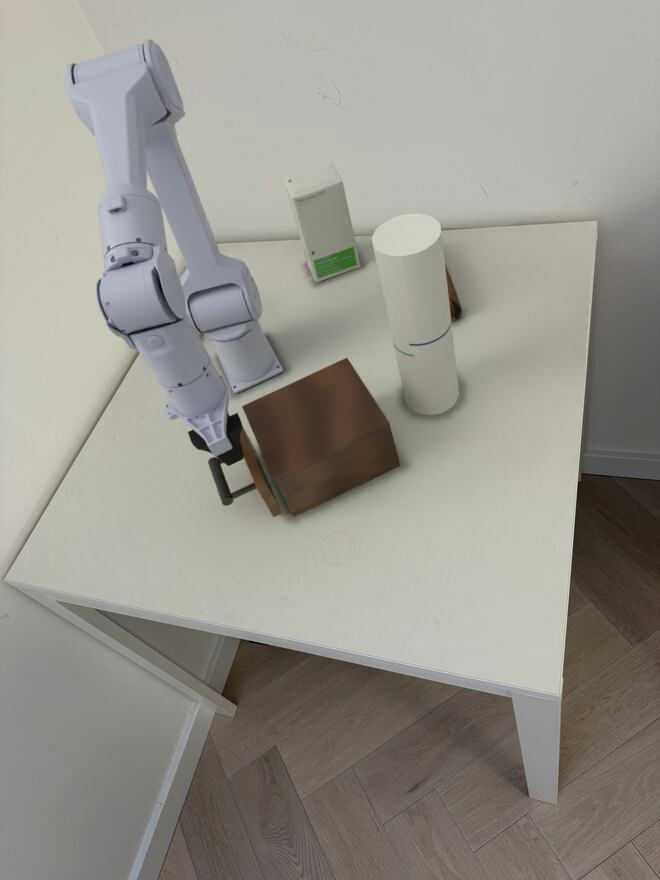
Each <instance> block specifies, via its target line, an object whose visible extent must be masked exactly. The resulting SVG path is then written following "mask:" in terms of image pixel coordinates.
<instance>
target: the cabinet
mask: <svg viewBox="0 0 660 880" xmlns="http://www.w3.org/2000/svg"><path fill="white" fill-rule="evenodd" d="M241 408H242V410H243V413H244V415H245V416H246V420H247V422H248V424H249V426H250V429H251V430H252V433H253V435H254V438H255V440H256V443H257V445H258V447H259V450H260V451H261V454H262V456H263V458H264V461H265V463H266V466H267V468H268V471H269V472H270V475H271V477H272V480H273V482H275V485H276V487H277V488H278V491H279V492H280V495H281V497H282V498H283V499H284V502H285V503H286V506H287V507H288V509H289V511H290V513H291V515H292V517H293V518H295V517H297V516H299V515H301V514H303V513H305V512H307V511H309V510H311V509H314V508H316V507H318V506H320V505H322V504H324V503H326V502H328V501H330V500H332V499H334V498H337V497H339V496H341V495H343V494H345V493H347V492H349V491H351V490H353V489H355V488H357V487H359V486H361V485H363V484H366V483H368V482H369V481H372V480H374V479H376V478H378V477H381V475H382V476H383V475H385V474H387V473H388V472H391V471H393V470H394V469H397V468H399V467H401V463H400V459H399V455H398V451H397V447H396V442H395V439H394V434H393V431H392V426H391V423H390V421H389V420H388V417H387V416H386V414H385V413H384V412H383V410H382V408H381V407H380V405H379V403H377V401H376V400H375V398H374V397H373V395H372V393H371V391H370V390H369V388H368V387H367V386H366V383H364V381H363V379H362V378H361V377H360V375H359V374H358V372H357V370H356V368H355V367H354V366H353V364H352V362H351V361H350V360H349V358H348V357H344V358H342V359H340V360H338V361H336V362H334V363H332V364H330V365H328V366H326V367H324V368H321V369H319V370H317V371H315V372H312V373H311V374H309V375H306V376H304V377H302V378H299V379H297V380H295V381H293V382H291V383H288V384H287V385H285V386H282V387H280V388H278V389H276V390H274V391H271V392H269V393H267V394H265V395H263V396H261V397H258V398H257V399H254V400H252V401H250V402H248V403H246V404H244V405H242V406H241Z"/></svg>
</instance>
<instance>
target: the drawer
mask: <svg viewBox="0 0 660 880" xmlns="http://www.w3.org/2000/svg"><path fill="white" fill-rule="evenodd" d="M240 442H241V446H242V449H243V454H244V459H243V460H244V461H245V463H246V466H247V468H248V471H249V473H250V475H251V478H252V481H253V482H251V483H249V484H247V485H245V486H243V487H241V488H239V489H237V490H235V491H233V492H232V491H231V489H230V485H229V484H228V480H227V478H226V475H225V472H224V470H223V467H222V464H224V463H223V462H222V461H221V460H220V459H218V458H217V457H216V456H213V457H211V458H209V459H208V460H207V464H208V466H209V470H210V473H211V476H212V478H213V481H214V484H215V488H216V491H217V494H218V495H219V499H220V501H221V504H222V506H224V507H226V506H227V507H228V506H231V505H232V504H233V503H234V500H235V499H237V498H240V497H242V496H243V495H245V494H248V493H250V492H252V491H255V490H257V491H258V493H259V495H260V497H261V498H262V500H263V502H264V504H265V505H266V507H267V509H268V510H269V512H270V514H271V515H272V517H273V518H276V517H278V516H280V515H282V514H283V511H282V509H281V505H280V504H279V502H278V501H279V500H278V498H277V497H276V494H275V492H274V489H273V488H272V485H271V482H270V480H269V478H268V475H267V473H266V471H265V468H264V466H263V464H262V461H261V459H260V456H259V453H258V452H257V450H256V448H255V445H254V444H253V442H252V440H251V438H250V436H249V435H248V433H247V431H246V429H245V428H244V425H243V424H242V430H241V433H240Z"/></svg>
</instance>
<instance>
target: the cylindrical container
mask: <svg viewBox="0 0 660 880" xmlns="http://www.w3.org/2000/svg"><path fill="white" fill-rule="evenodd" d="M371 242H372V243H371V244H372V247H373V253H374V257H375V262H376V268H377V271H378V278H379V282H380V286H381V290H382V296H383V301H384V304H385V305H384V306H385V310H386V314H387V320H388V324H389V329H390V334H391V338H392V339H391V340H392V343H393V349H394V353H395V357H396V358H395V359H396V363H397V367H398V372H399V376H400V382H401V385H402V386H401V387H402V391H403V395H404V400H405V403H406V405H407V406H408V408H409V409H410V410H412V412H414V413H417V414H419V415H424V416H435V415H440V414H443V413H445V412H447V411H448V410H450V409H451V408H452V407H453V406H454V405H455V404H456V403H457V401H458V399H459V395H460V387H459V378H458V370H457V363H456V362H457V361H456V352H455V344H454V343H455V342H454V333H453V324H452V323H453V322H451V314H450V305H449V296H448V287H447V278H446V269H445V264H446V261H445V251H444V241H443V233H442V225H441V223H440V222H439V221H438V220H437V219H436V218H435V217H433V216H431V215H428V214H425V213H405V214H401V215H397V216H394V217H392V218H389V219H388V220H385V221H384V222H383V223H381V224H380V225H379V226H378V227H377V228H376V229H375V231H374V232H373V234H372V237H371Z"/></svg>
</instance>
